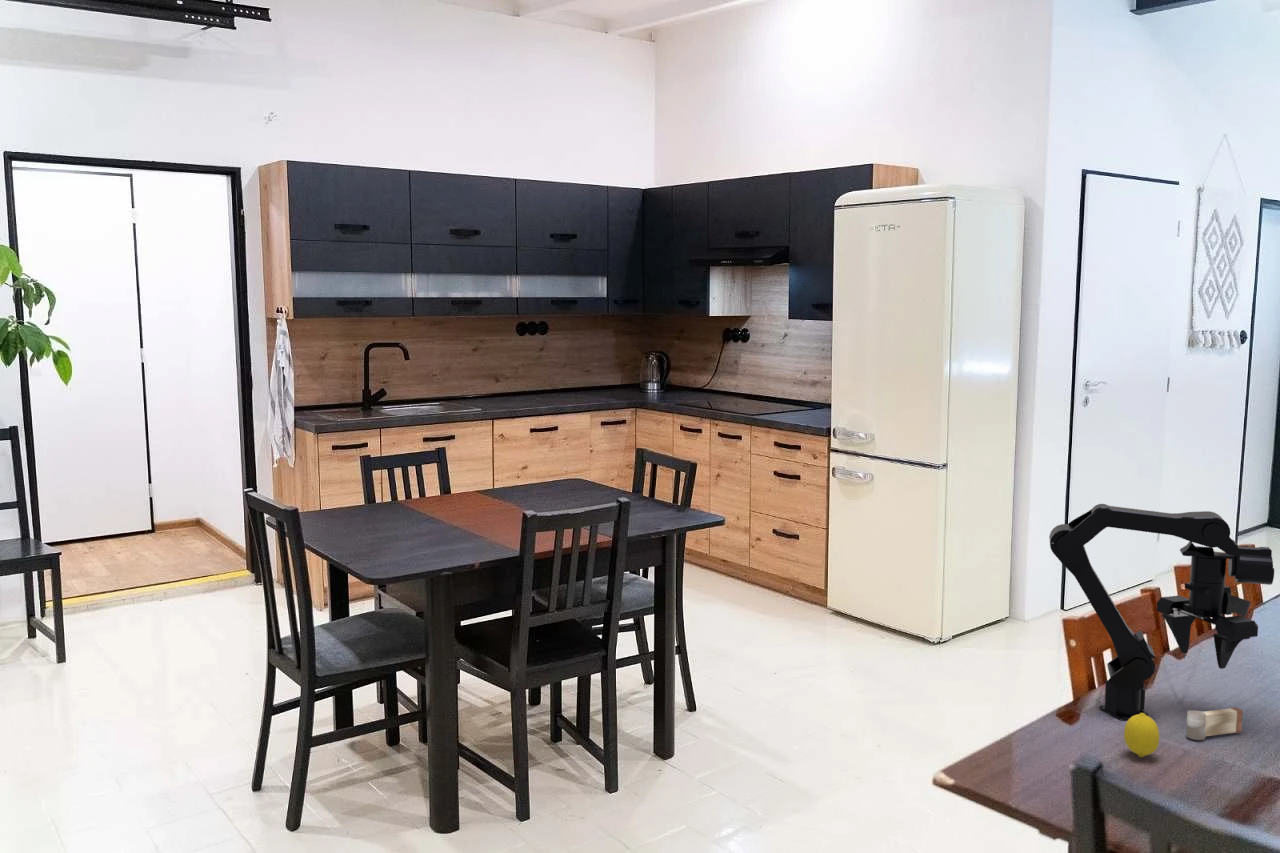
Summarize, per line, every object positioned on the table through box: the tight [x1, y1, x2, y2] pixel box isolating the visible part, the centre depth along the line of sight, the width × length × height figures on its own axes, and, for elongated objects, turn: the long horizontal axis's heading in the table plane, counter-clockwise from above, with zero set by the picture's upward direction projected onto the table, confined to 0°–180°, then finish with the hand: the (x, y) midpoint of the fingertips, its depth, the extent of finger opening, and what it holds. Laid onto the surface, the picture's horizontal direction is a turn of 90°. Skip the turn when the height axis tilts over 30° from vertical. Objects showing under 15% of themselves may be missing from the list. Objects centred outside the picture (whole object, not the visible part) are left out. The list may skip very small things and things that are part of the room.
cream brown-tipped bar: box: [1186, 706, 1244, 741], centre depth 189 cm, size 11×3×4 cm, turn 104°
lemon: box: [1123, 713, 1160, 758], centre depth 180 cm, size 6×6×8 cm
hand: (1202, 660), depth 195 cm, fingers open, 9 cm apart
